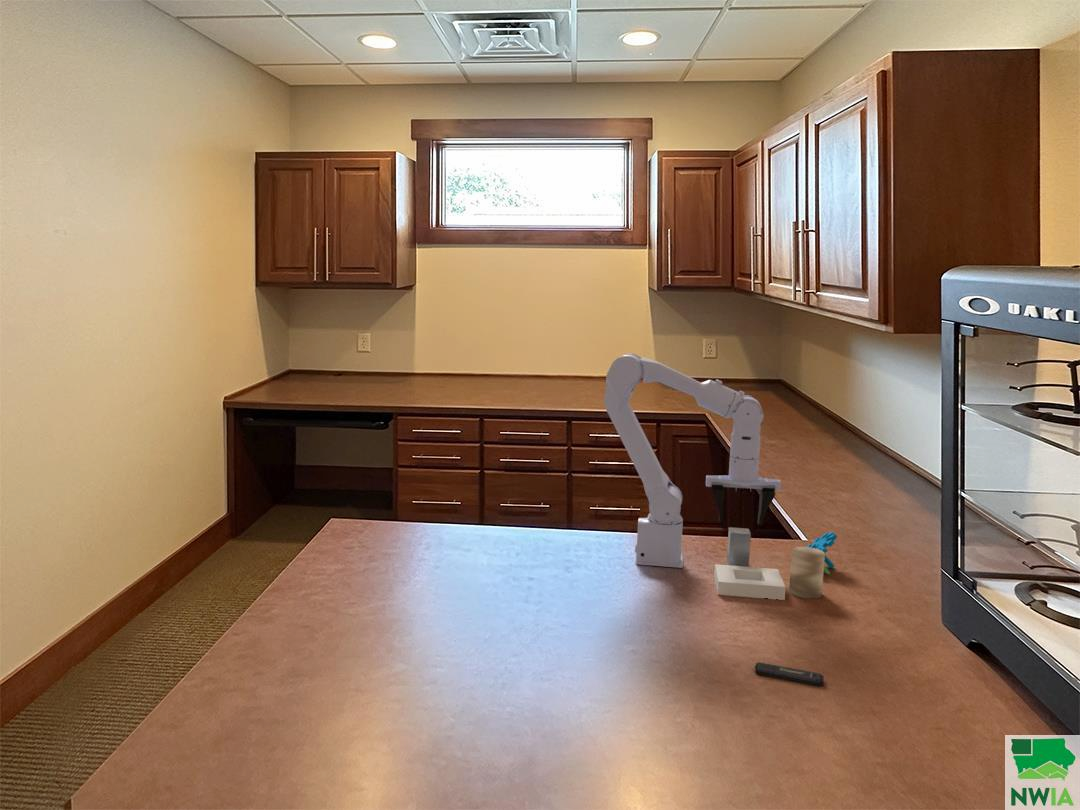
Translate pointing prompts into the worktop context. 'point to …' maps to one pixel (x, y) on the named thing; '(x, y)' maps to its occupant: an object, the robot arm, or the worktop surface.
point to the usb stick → (789, 674)
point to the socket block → (749, 582)
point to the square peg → (738, 547)
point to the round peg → (807, 572)
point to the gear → (824, 547)
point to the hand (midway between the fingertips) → (740, 522)
